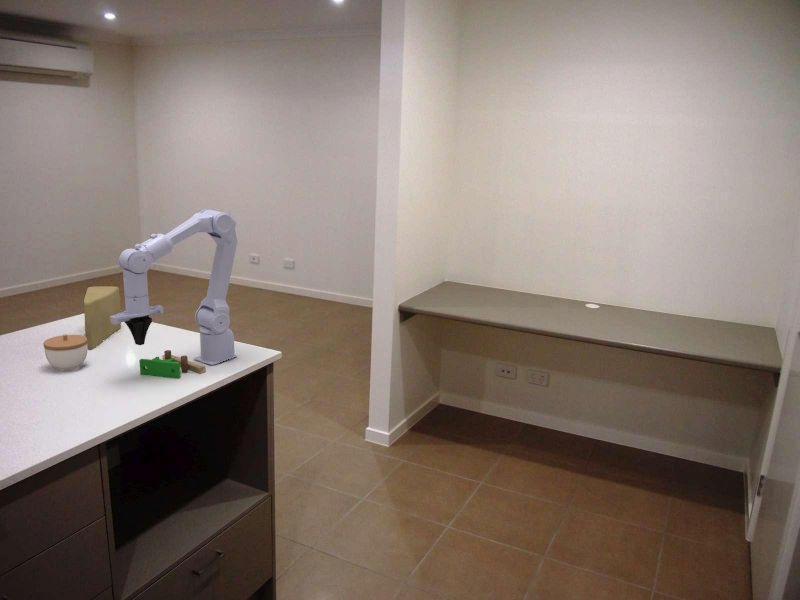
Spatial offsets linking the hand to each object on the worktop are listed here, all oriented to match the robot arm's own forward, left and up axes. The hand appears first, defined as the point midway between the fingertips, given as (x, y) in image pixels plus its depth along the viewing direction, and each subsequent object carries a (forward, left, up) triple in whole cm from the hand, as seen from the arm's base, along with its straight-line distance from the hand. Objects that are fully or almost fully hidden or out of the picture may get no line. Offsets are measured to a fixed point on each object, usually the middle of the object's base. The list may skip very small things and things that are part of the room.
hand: (139, 344), depth 162 cm
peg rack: (-10, +2, -10) cm, 14 cm away
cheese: (-12, -38, -10) cm, 41 cm away
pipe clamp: (-5, +2, -10) cm, 11 cm away
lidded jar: (+8, -22, -10) cm, 25 cm away
